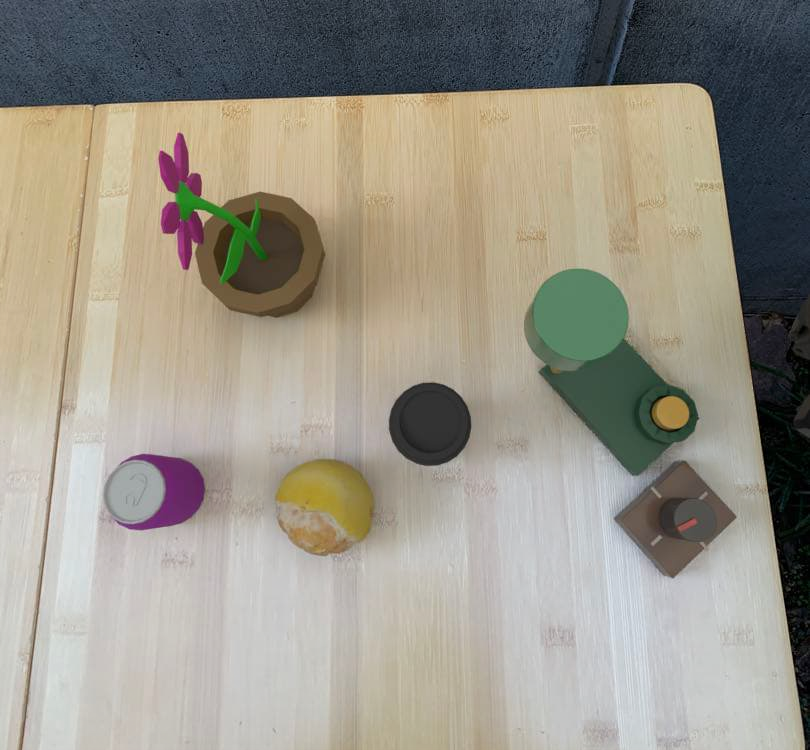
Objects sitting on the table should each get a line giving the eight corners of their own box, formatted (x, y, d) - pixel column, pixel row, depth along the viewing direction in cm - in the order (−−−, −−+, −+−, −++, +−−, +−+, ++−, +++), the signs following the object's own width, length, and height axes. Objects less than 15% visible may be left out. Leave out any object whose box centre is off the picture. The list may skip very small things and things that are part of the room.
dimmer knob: (685, 490, 76) (703, 490, 71) (707, 528, 75) (726, 530, 70) (651, 508, 75) (667, 510, 71) (672, 546, 74) (689, 550, 70)
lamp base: (695, 420, 81) (709, 417, 77) (633, 477, 79) (644, 477, 75) (599, 319, 84) (608, 310, 80) (538, 372, 82) (544, 366, 78)
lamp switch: (690, 415, 77) (696, 414, 75) (667, 436, 77) (673, 435, 75) (667, 391, 78) (672, 389, 76) (644, 412, 77) (649, 410, 76)
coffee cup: (449, 480, 79) (456, 478, 65) (382, 454, 80) (375, 447, 66) (472, 412, 81) (484, 396, 67) (407, 388, 82) (405, 367, 68)
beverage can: (195, 533, 78) (156, 540, 67) (132, 516, 79) (83, 520, 67) (215, 466, 80) (181, 462, 69) (154, 450, 81) (110, 444, 69)
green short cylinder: (630, 332, 61) (649, 319, 57) (566, 389, 60) (579, 380, 55) (569, 268, 63) (582, 249, 58) (505, 322, 62) (512, 308, 57)
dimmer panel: (727, 518, 78) (740, 519, 75) (665, 577, 76) (675, 581, 73) (673, 459, 79) (683, 458, 76) (611, 516, 78) (619, 517, 75)
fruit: (287, 459, 80) (270, 455, 71) (378, 462, 80) (373, 458, 70) (280, 550, 78) (261, 558, 68) (374, 553, 77) (368, 563, 68)
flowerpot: (222, 227, 88) (125, 96, 59) (333, 223, 88) (291, 90, 58) (218, 335, 84) (113, 253, 55) (334, 331, 84) (290, 247, 55)
